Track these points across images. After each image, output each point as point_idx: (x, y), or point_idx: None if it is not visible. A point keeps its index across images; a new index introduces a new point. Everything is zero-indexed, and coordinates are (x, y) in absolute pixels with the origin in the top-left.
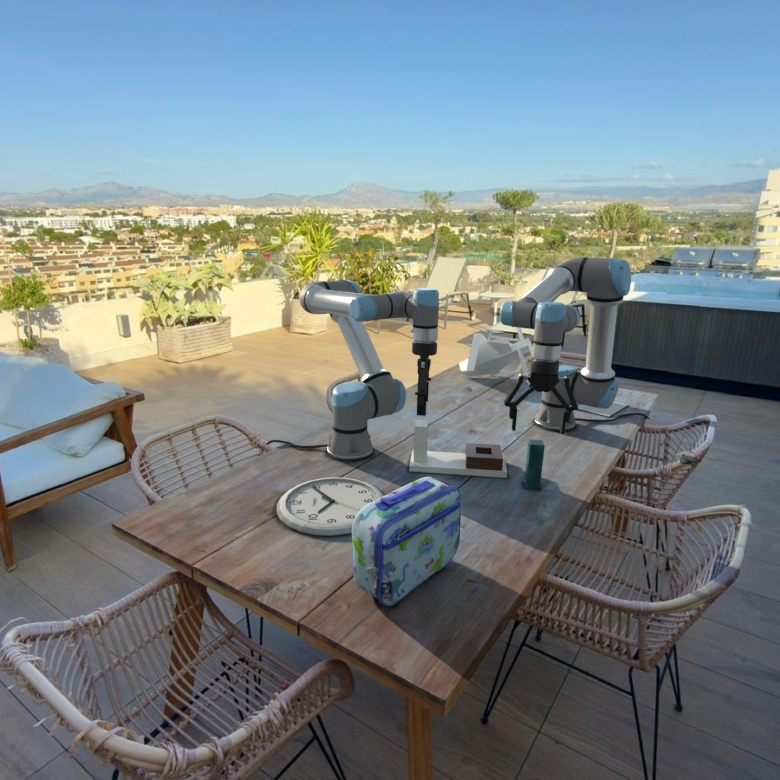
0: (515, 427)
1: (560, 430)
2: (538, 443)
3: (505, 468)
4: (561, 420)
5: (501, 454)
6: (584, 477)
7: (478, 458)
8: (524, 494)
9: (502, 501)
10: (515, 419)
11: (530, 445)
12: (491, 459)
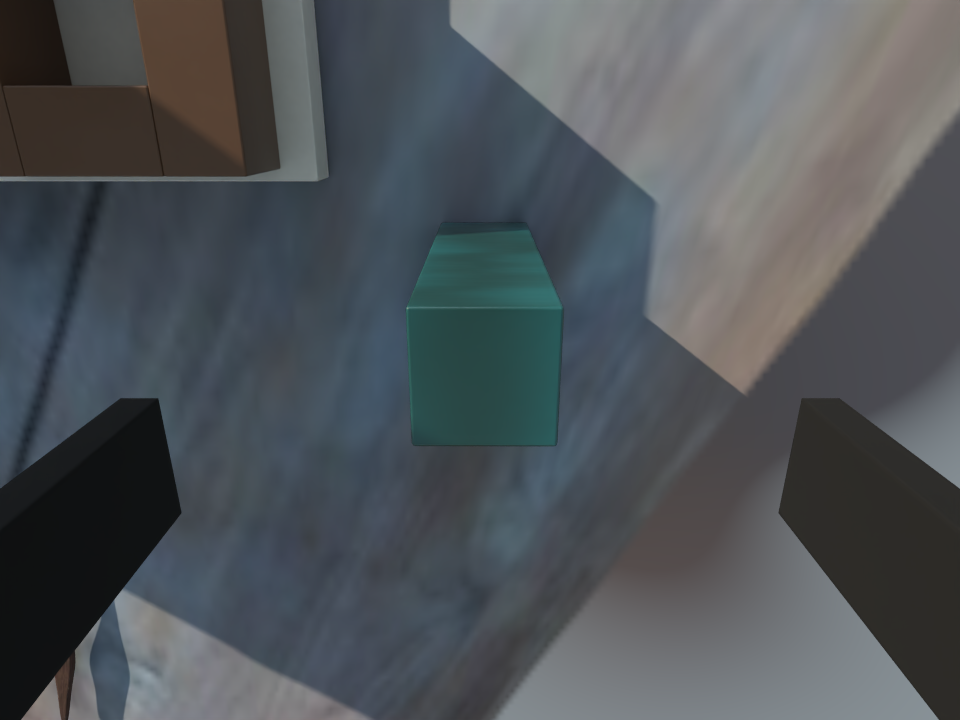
0: (154, 543)
1: (801, 457)
2: (501, 405)
3: (304, 119)
4: (900, 531)
5: (226, 74)
6: (883, 76)
7: (46, 176)
8: None
9: (307, 462)
10: (66, 638)
11: (414, 439)
12: (155, 176)
